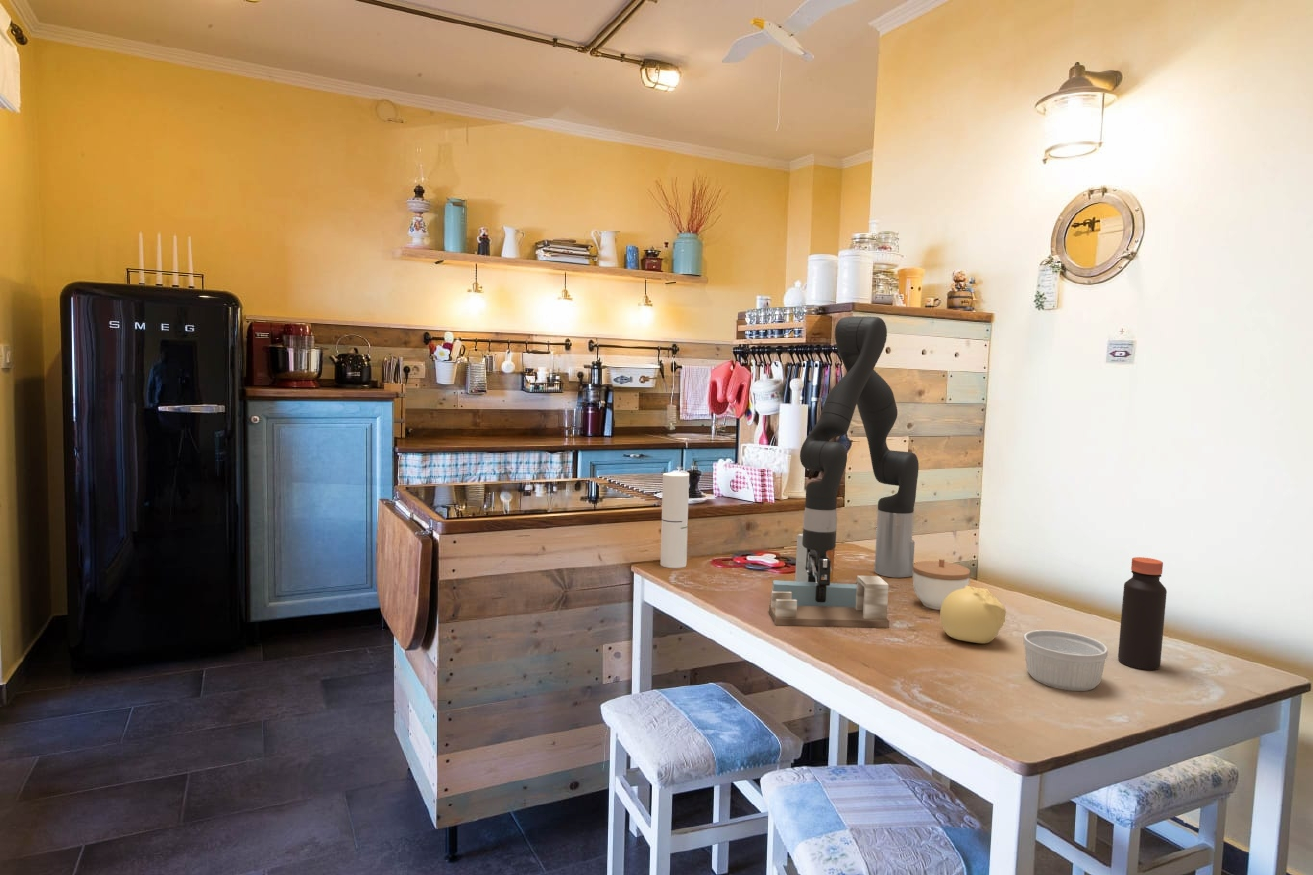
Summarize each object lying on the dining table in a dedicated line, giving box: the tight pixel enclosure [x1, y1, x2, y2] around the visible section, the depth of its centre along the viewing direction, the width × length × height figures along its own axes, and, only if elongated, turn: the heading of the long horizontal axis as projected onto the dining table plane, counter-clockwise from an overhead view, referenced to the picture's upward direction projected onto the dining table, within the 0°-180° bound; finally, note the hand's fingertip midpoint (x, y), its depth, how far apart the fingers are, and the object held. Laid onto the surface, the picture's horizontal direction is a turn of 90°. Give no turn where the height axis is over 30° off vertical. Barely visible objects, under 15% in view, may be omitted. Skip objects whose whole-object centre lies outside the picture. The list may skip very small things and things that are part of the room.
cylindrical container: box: [660, 472, 690, 569], centre depth 208 cm, size 7×7×25 cm
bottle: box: [1117, 556, 1168, 671], centre depth 143 cm, size 7×7×20 cm
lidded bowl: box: [912, 558, 971, 611], centre depth 177 cm, size 13×13×11 cm
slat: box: [772, 579, 857, 607], centre depth 176 cm, size 20×4×5 cm, turn 85°
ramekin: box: [1022, 629, 1109, 692], centre depth 136 cm, size 13×13×7 cm
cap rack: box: [768, 575, 890, 629], centre depth 165 cm, size 24×9×9 cm, turn 91°
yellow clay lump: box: [939, 585, 1007, 644], centre depth 155 cm, size 11×12×11 cm
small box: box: [794, 533, 836, 583], centre depth 192 cm, size 8×6×13 cm
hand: (816, 596), depth 176 cm, fingers open, 8 cm apart
